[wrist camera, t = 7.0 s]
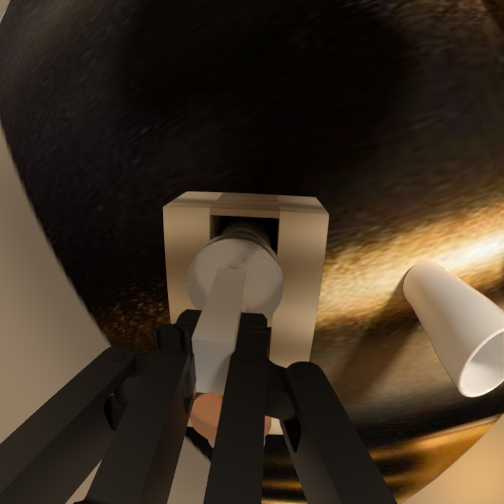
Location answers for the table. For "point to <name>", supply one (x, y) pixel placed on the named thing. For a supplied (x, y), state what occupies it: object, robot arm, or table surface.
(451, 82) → the table surface
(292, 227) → the mount
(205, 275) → the knob
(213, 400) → the copper knob
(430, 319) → the drinking glass
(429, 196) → the table surface
